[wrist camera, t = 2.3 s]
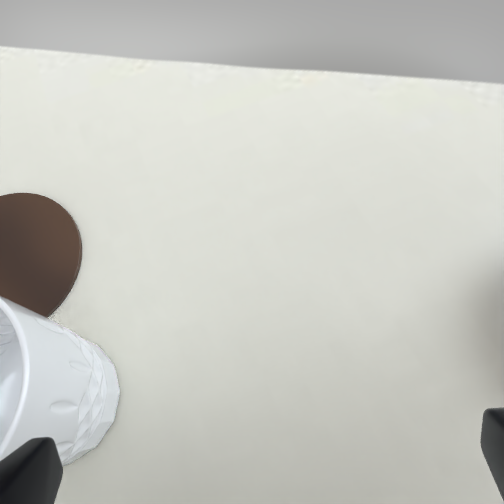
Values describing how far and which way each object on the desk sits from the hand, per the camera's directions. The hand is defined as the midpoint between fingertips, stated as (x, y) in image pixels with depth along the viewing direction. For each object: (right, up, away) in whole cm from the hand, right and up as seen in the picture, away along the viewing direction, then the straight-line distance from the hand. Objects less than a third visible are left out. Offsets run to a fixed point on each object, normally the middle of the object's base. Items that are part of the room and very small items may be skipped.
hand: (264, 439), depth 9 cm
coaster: (-16, +3, +18) cm, 24 cm away
